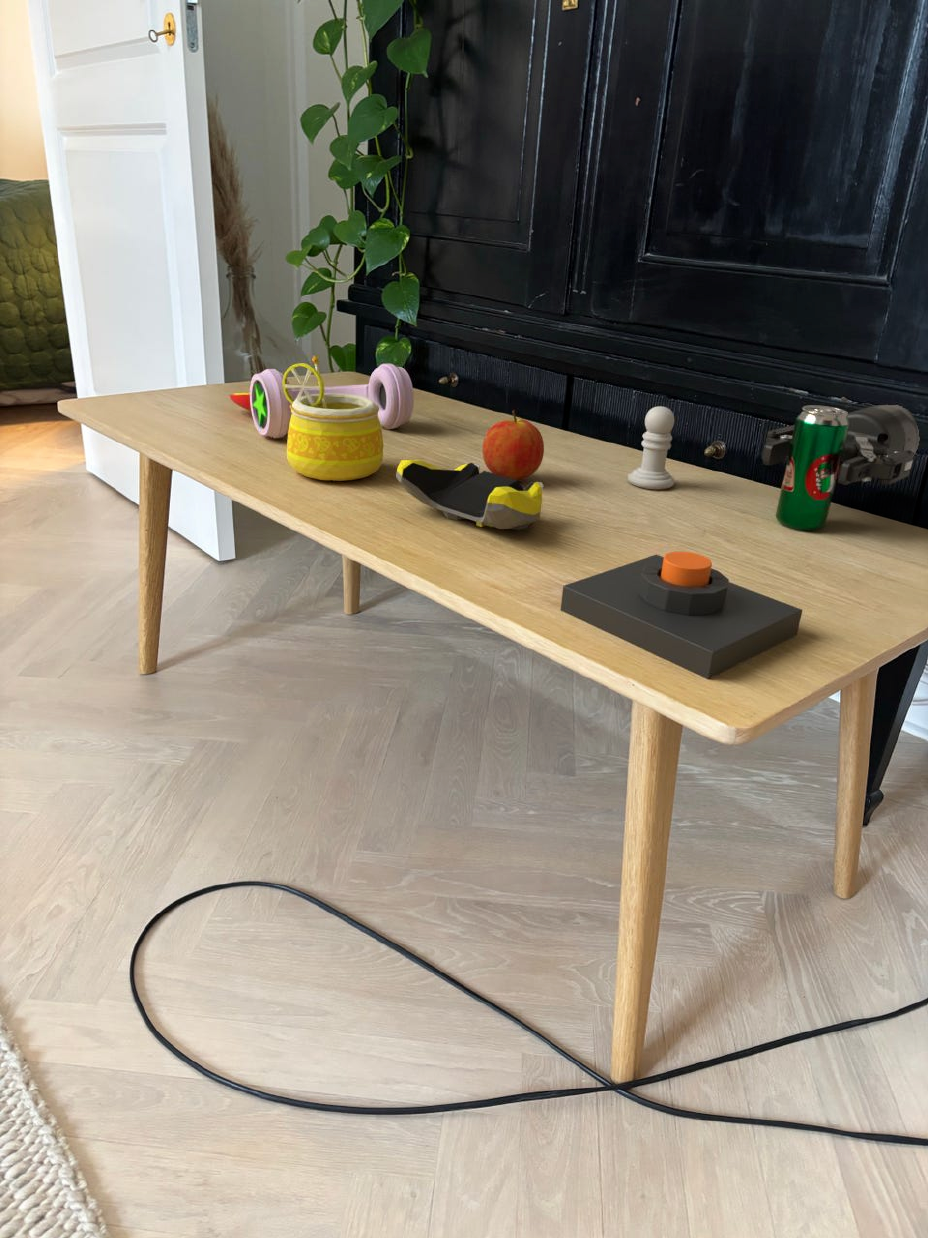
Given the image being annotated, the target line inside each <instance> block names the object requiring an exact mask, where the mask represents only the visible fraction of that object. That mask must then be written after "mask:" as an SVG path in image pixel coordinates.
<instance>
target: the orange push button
mask: <svg viewBox="0 0 928 1238" xmlns="http://www.w3.org/2000/svg"><path fill="white" fill-rule="evenodd" d="M663 557H664V560H663V566H662V572H661V579H662V580H664V581H666V582H669V583H671V584H674V585H679V586H685V587H704V586H707V585H708V582H709V577H710V572H711V568H712V567H713V562H712V561H711V559H709V558H708V557H706V556H705V555H703V554H699V553H695V552H691V551H679V550H678V551H670V552H667V553H666V554H664V556H663Z"/></svg>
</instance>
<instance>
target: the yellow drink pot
mask: <svg viewBox="0 0 928 1238" xmlns="http://www.w3.org/2000/svg"><path fill="white" fill-rule="evenodd" d="M311 361H312V363H313V365H314V367H315V368H314V367H313V366H311V365H309V364H307V363H303V362H300V363H295V364H293V365H291V366H289V367H288V368H287V370H286V371H284V373H283V375H284V378H283V382H282V383H283V390H284V394H285V396H286V398H287V399H288V400H289V401H290V403H291V405H290V409H291V412H292V415H291V419H290V423H289V431H288V434H287V442H286V443H287V444H286V459H287V461H288V464H289V466H290V468H292V469H293V471H295V472H296V473H298V474H300V475H302V476H305V477H307V478H311V479H314V480H319V481H331V480H332V482H333V481H334V482H335V481H336V482H342V481H353V480H358V479H364V478H366V477H369V476H370V475H373V474H374V473H376V472H378V470H379V469H380V468H381V465H382V463H383V461H384V460H383V459H384V439H383V430H382V429H383V428H382V426H381V424H380V421H379V418H378V412H379V407H378V405H376V403H375V402H373V401H372V400H370V399H368V398H366V397H362V396H357V395H350V394H338V393H324V387H325V385H324V381H323V378H322V376H321V373H320V367H319V363H320V359H319V357H318V356H317V355H313V356H312V359H311ZM297 367H302V368H306V369H307V371H306V374H305V376H304V380H303V381H302V379H301V376H300V375H299V371H298V370H297ZM290 372H291V373H292V375H293V376H294V378H295V379H296V381H297V382H298V383H299V384H293V383H289V384H288V383H287V380H288V377H289V374H290ZM312 373H313V374H314V376H315V378H316V379H317V382H318V385H307V382H308V380H309V379H310V377H311V374H312ZM287 388H291V389H295V388H301V389H302V391H301V390H300V392H299V394H298V396H297V397H296V399H295V401H294V400H293V399H292V398H291V396H290V395H289V392H288V389H287ZM304 388H305V389H306V388H311V389H316V390H319V391H320V394H311V395H310V394H309V393H308V391H307V390H306V391H307V393H308V395H307V393H306V392H305V390H304ZM303 390H304V392H305V394H306V396H303V397H301V395H302V392H303Z"/></svg>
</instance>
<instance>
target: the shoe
mask: <svg viewBox="0 0 928 1238" xmlns="http://www.w3.org/2000/svg"><path fill="white" fill-rule="evenodd" d="M480 470H481V466H480V465H479V464H477V463H473V462H469V463H465V464H462V465H460V466H458V467H456V468H455V469H454V470H453V469H442V468H440V467H438V466H435V465H432V464H430V463H429V462H425V461H423V460H420V459H402V460H400V462H399V465H398V466H397V469H396V473H395V478H396V479H397V480H398V482H399V483H400V485H401V486H402V487H403V488H404V490H405V491H406V493H408V494H409V495H410V496H412V497H413V498H415V499H416V500H418V501H419V502H420V503H422V504H424V505H427V506H429V507H432V508H435V509H436V510H439V511H442V513H443V516H444V517H446V518H447V519H448V520H455V521H461V520H466V519H467V520H470V521H473V522H476V524H475V525H476V526H477V527H480V528H483V527H486V526H487V527H490V528H496V529H498V530H509V529H510V530H516V531H520V530H526V529H527V528H528V527H529V525H530V524H532V523H535V522H537V521H538V520H539V519H540V518H541V514H542V513H541V512H542V504H543V489H544V484H543V483H542V481H541V482H540V481H532V482H529V483H528V484H527V486H526V487H525V488H523V486H522V484H520V481H517V480H514V479H511V478H507V477H504V476H500V475H497V474H493V473H492V472H491V471H486V470H483V471H480Z"/></svg>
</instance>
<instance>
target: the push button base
mask: <svg viewBox="0 0 928 1238" xmlns="http://www.w3.org/2000/svg"><path fill="white" fill-rule="evenodd" d="M663 560H664V556H661V555H658V554H653V555H651V556H648V557H645V558H644V557H643V558H642V559H639V560H636V561H633V562H630V563H627V564H623V565H621V566H618V567H615V568H612V569H609V570H606V571H603V572H600V573H597V574H595V575H591V576H589V577H586V578H585V577H584V578H582V579H580V580H576V581H574V582H570V583H568V584H565V585H563V586H562V593H561V600H560V601H561V603H560V611H561V612H563V613H565V614H567V615H570V616H572V617H574V618H576V619H578V620H580V621H583V622H584V623H586V624H589V625H591V626H593V627H595V628H597V629H599V630H601V631H603V632H606V633H608V634H610V635H612V636H614V637H616V638H618V639H621V640H623V641H625V642H627V643H629V644H631V645H633V646H635V647H637V648H640V649H642V650H644V651H646V652H648V653H650V654H652V655H655V656H657V657H659V658H661V659H662V660H665V661H667V662H669V663H671V664H674V665H676V666H678V667H680V668H682V669H684V670H686V671H688V672H691V673H692V674H695V675H697V676H699V677H700V678H704V679H706V680H710V679H713V678H714V677H716V676H718V675H720V674H722V673H724V672H726V671H728V670H730V669H732V668H734V667H736V666H739V665H741V664H742V663H745V662H746V661H748V660H750V659H752V658H754V657H756V656H758V655H760V654H762V653H763V652H766V651H768V650H770V649H772V648H773V647H776V646H778V645H780V644H783V643H784V642H786V641H788V640H790V639H791V638H794V637H795V636H797V635H798V632H799V627H800V623H801V620H802V619H801V618H802V614H803V609H802V608H799V607H796V606H794V605H791V604H788V603H786V602H783V601H780V600H778V599H775V598H772V597H770V596H767V595H764V594H762V593H760V592H757V591H754V590H752V589H749V588H747V587H743V586H741V585H738V584H735V583H734V582H730V579H729V578H728V577H726V575H724V574H723V573H722V572H720V571H719V570H717V569H715V568H712V567H711V572H710V577H709V582H708V585H707V586H704V587H685V586H679V585H674V584H671V583H669V582H666V581H664V580H662V579H661V572H662V566H663Z"/></svg>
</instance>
